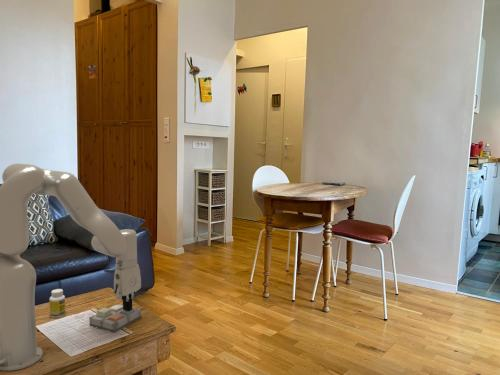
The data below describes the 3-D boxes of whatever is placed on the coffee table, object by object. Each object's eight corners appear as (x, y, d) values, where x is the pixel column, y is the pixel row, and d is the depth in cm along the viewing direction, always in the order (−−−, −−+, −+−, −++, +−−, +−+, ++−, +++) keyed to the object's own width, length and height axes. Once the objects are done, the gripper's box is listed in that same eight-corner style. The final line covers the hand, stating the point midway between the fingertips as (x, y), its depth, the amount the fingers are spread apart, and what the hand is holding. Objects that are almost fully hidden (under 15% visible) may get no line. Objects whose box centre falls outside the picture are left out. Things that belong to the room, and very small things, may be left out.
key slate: (127, 319, 145) (127, 312, 145) (120, 317, 146) (120, 310, 146) (134, 315, 148) (133, 309, 148) (127, 313, 149) (127, 307, 149)
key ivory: (116, 316, 147) (116, 309, 147) (109, 314, 149) (109, 308, 148) (123, 312, 150) (122, 306, 150) (116, 311, 152) (116, 304, 151)
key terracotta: (115, 325, 140) (115, 318, 139) (108, 323, 141) (108, 317, 141) (122, 322, 143) (122, 315, 142) (115, 320, 144) (115, 313, 144)
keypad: (114, 333, 137) (114, 324, 137) (89, 325, 142) (89, 317, 142) (141, 317, 150) (141, 309, 149) (117, 311, 155) (117, 303, 154)
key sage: (104, 319, 142) (104, 312, 141) (97, 317, 143) (97, 310, 143) (111, 315, 145) (111, 309, 144) (104, 314, 146) (104, 307, 146)
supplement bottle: (61, 318, 148) (60, 293, 147) (47, 318, 148) (46, 293, 147) (68, 312, 153) (67, 288, 152) (54, 312, 153) (53, 288, 152)
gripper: (119, 269, 137) (120, 319, 139) (147, 258, 150) (148, 304, 152) (103, 266, 140) (105, 315, 142) (132, 256, 153) (133, 301, 155)
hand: (127, 309), depth 147 cm, fingers closed
